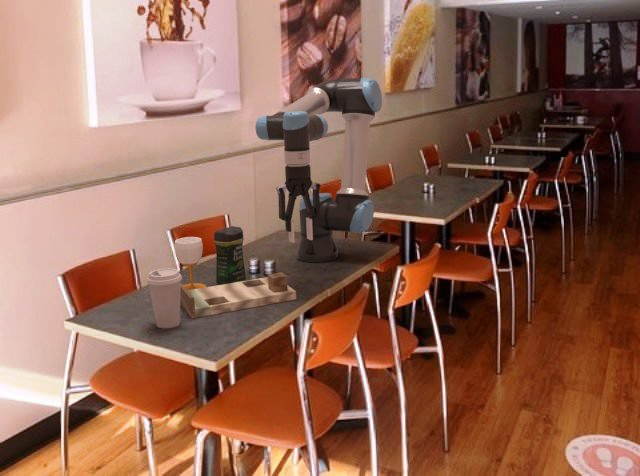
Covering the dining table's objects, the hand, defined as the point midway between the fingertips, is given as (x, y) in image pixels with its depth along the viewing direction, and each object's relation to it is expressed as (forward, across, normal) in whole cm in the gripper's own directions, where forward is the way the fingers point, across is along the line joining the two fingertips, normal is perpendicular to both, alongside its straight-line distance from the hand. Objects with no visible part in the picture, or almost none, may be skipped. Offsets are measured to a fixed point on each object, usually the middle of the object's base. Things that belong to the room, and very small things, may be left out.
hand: (300, 240), depth 207 cm
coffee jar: (+17, -16, +22) cm, 32 cm away
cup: (+17, -29, +22) cm, 41 cm away
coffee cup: (+17, -43, -6) cm, 47 cm away
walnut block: (+14, -8, 0) cm, 16 cm away
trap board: (+17, -20, +4) cm, 27 cm away
